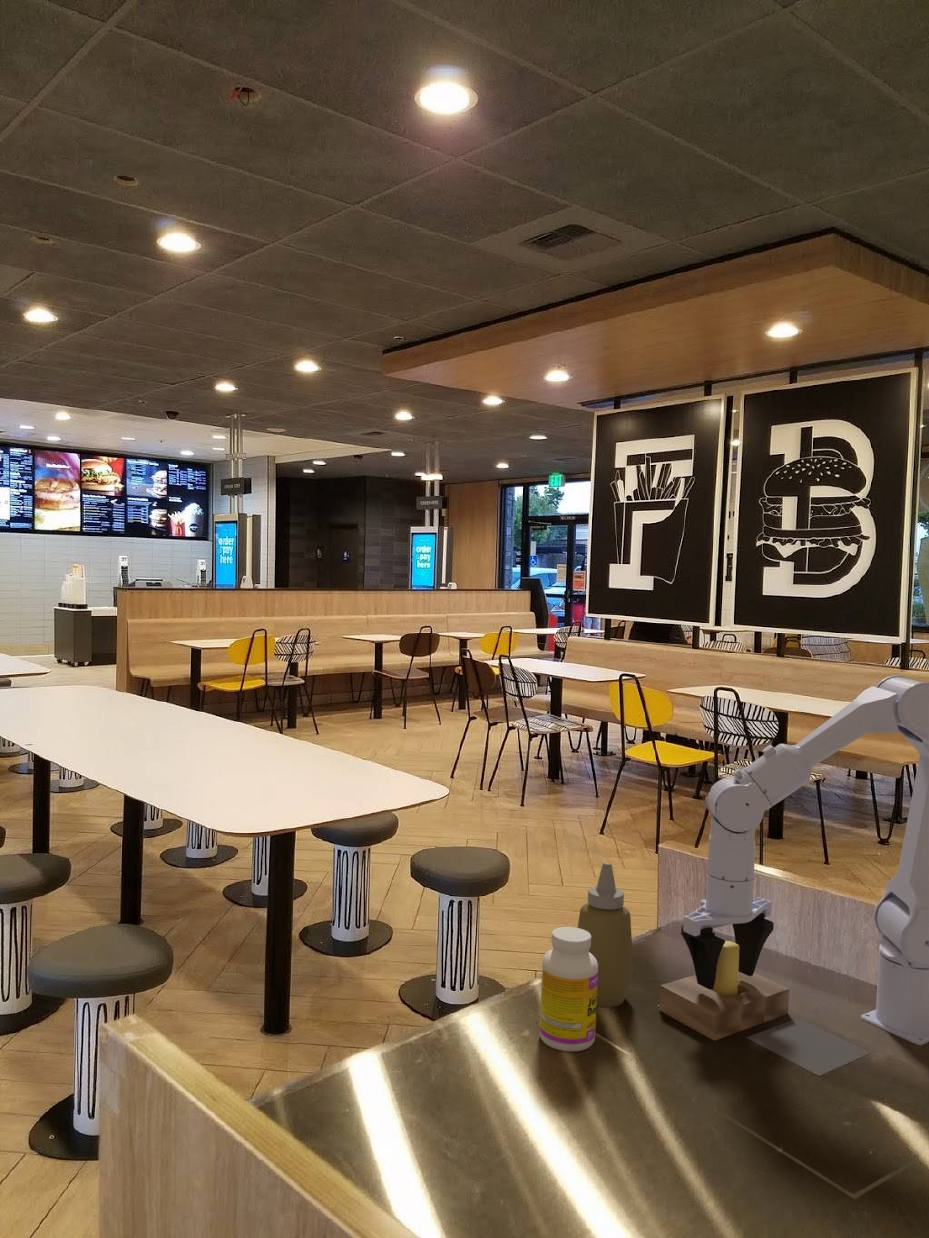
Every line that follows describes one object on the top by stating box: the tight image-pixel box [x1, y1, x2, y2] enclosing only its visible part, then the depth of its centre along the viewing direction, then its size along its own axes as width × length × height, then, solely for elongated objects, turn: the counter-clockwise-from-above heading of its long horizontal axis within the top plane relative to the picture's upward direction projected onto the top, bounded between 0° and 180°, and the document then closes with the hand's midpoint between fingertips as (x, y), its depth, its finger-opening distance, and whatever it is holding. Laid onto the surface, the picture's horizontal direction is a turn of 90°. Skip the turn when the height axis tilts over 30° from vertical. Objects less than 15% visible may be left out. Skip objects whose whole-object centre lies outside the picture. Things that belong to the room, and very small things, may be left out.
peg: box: [713, 940, 739, 998], centre depth 117 cm, size 3×3×9 cm
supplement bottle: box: [539, 926, 598, 1053], centre depth 109 cm, size 7×7×13 cm
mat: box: [746, 1017, 871, 1077], centre depth 110 cm, size 10×10×1 cm
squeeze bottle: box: [577, 862, 635, 1008], centre depth 120 cm, size 8×8×18 cm
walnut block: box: [658, 971, 790, 1042], centre depth 118 cm, size 14×9×4 cm, turn 124°
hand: (725, 979), depth 118 cm, fingers open, 7 cm apart
